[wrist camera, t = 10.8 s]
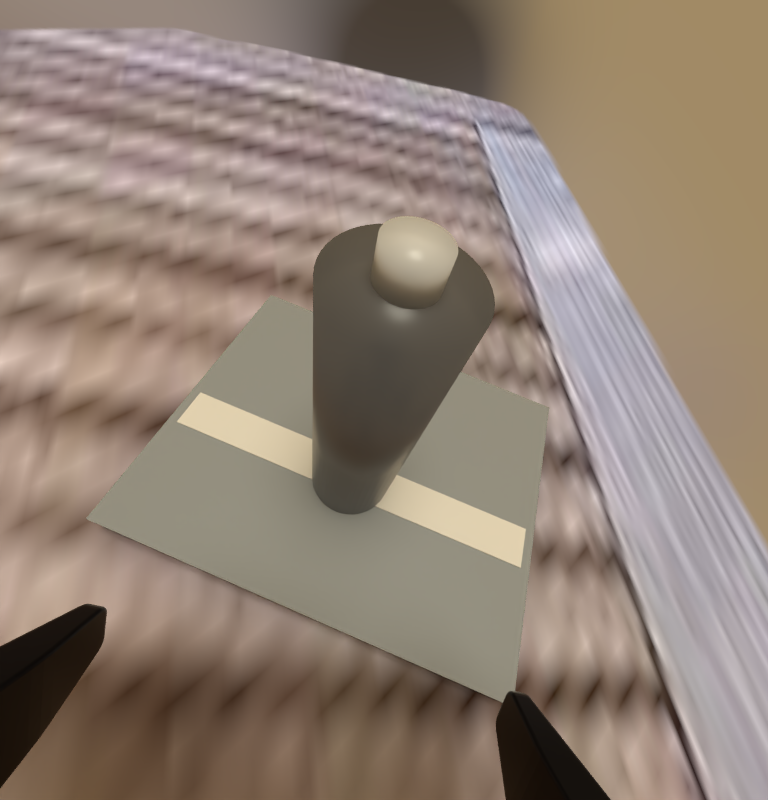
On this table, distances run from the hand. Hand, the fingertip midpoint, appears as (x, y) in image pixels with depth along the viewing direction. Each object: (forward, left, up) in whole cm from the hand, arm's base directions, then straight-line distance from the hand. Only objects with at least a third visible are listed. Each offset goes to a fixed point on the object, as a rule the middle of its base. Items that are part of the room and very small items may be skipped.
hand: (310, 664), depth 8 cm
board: (+9, +1, -10) cm, 13 cm away
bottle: (+7, +1, -8) cm, 11 cm away
